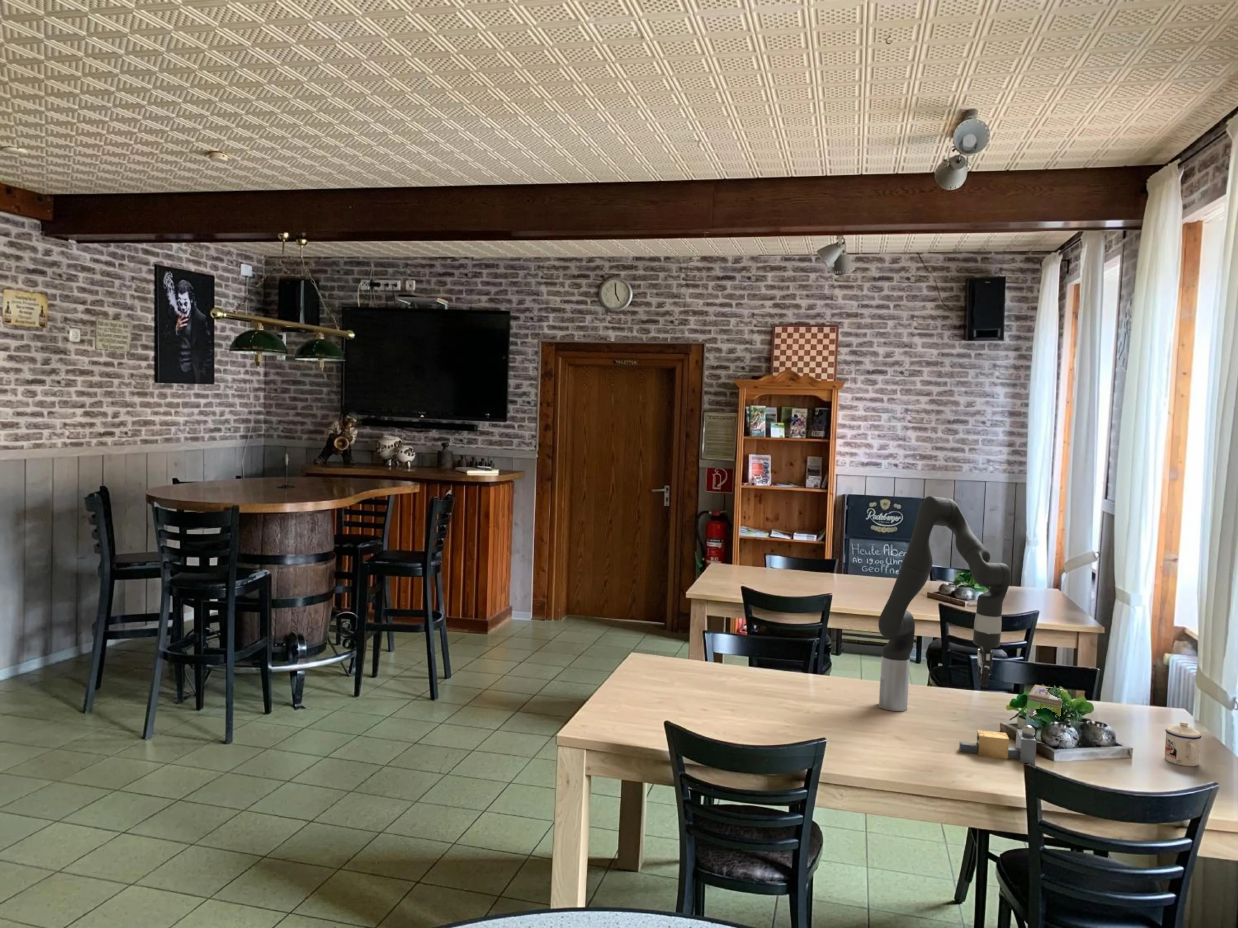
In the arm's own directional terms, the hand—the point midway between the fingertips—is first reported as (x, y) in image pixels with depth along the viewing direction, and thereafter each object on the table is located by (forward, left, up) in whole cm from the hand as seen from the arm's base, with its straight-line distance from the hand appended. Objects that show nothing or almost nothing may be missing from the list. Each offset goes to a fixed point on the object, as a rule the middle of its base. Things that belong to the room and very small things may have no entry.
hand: (982, 682), depth 279 cm
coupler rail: (+4, -5, -20) cm, 21 cm away
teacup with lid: (+57, +8, -20) cm, 61 cm away
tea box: (+21, +17, -20) cm, 34 cm away
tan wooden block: (+3, -5, -20) cm, 21 cm away
